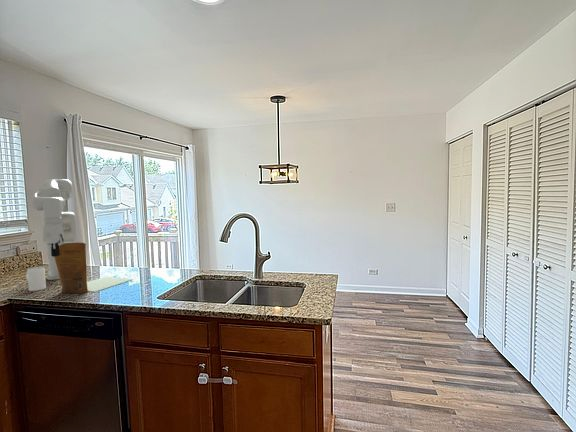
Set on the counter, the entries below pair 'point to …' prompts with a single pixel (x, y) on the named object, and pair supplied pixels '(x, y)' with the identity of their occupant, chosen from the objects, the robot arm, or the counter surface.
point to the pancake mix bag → (72, 267)
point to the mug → (36, 278)
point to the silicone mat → (105, 283)
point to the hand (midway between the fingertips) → (55, 256)
